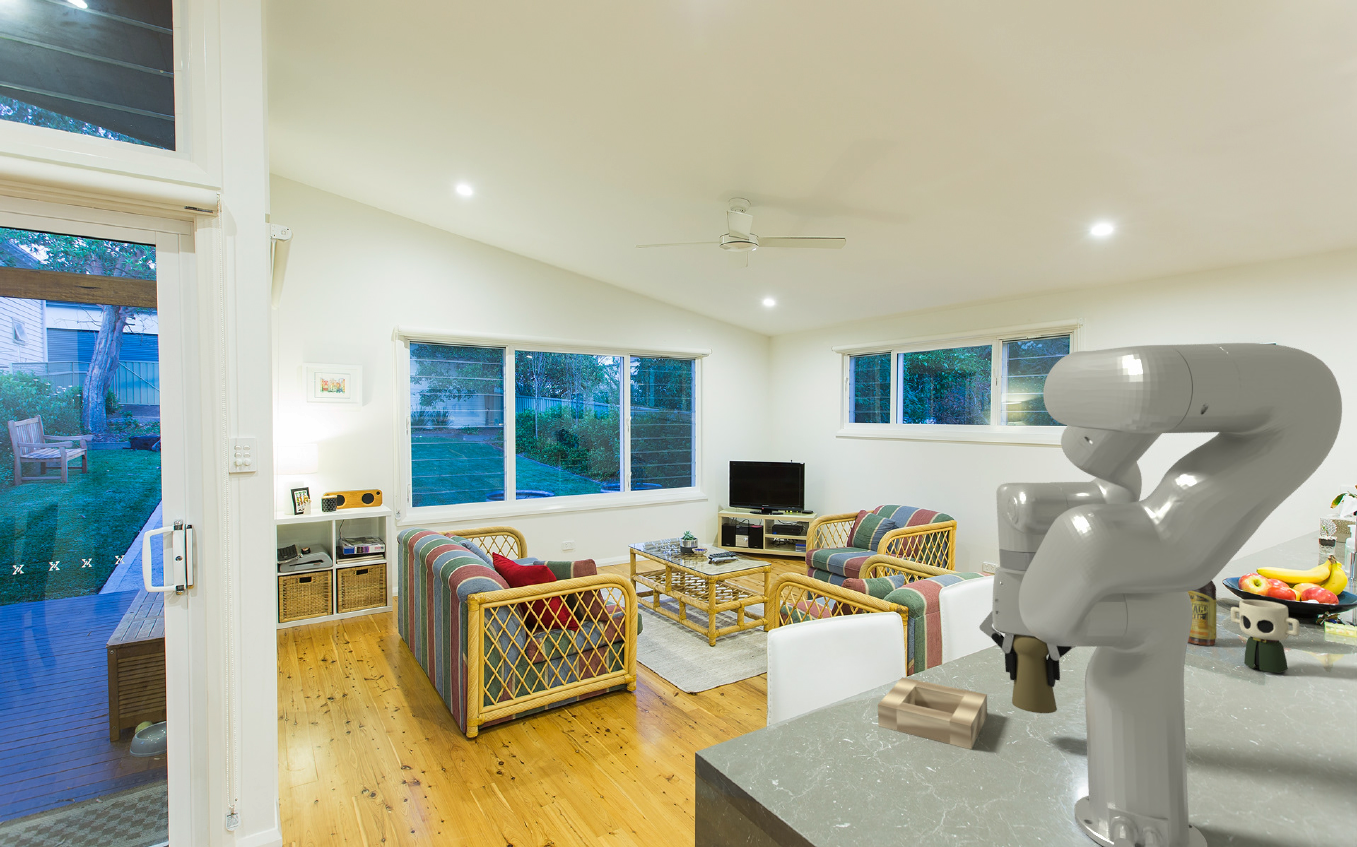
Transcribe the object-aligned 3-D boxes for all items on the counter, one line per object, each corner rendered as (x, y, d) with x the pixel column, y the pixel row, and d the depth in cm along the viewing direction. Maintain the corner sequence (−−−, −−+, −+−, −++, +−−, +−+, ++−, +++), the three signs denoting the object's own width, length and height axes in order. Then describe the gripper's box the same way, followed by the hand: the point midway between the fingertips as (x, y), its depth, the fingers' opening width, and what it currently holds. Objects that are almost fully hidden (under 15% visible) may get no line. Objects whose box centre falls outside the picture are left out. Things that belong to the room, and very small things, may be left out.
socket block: (971, 749, 94) (970, 725, 94) (878, 725, 102) (877, 704, 102) (987, 715, 105) (986, 694, 105) (902, 696, 113) (902, 677, 114)
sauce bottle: (1174, 640, 142) (1171, 552, 142) (1190, 636, 144) (1186, 550, 145) (1209, 648, 136) (1205, 557, 136) (1224, 644, 138) (1220, 554, 139)
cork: (1063, 714, 93) (1059, 638, 93) (1019, 711, 94) (1015, 637, 95) (1048, 699, 99) (1044, 628, 99) (1006, 697, 100) (1003, 627, 101)
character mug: (1222, 663, 127) (1219, 599, 128) (1242, 658, 130) (1240, 595, 130) (1291, 682, 117) (1288, 612, 118) (1311, 676, 120) (1308, 608, 120)
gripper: (1091, 562, 96) (1099, 684, 95) (972, 554, 106) (977, 665, 104) (1089, 569, 90) (1097, 699, 89) (963, 560, 100) (968, 677, 98)
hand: (1032, 679), depth 96 cm, fingers closed on cork, 4 cm apart
